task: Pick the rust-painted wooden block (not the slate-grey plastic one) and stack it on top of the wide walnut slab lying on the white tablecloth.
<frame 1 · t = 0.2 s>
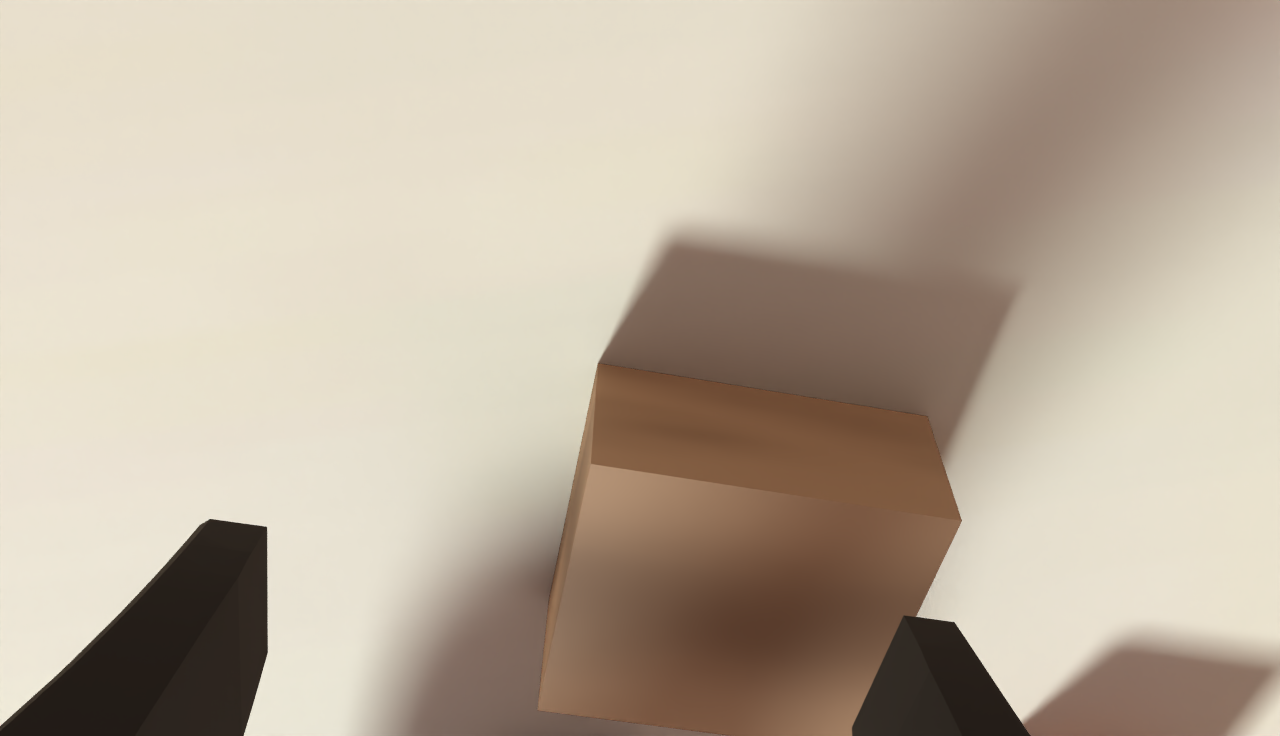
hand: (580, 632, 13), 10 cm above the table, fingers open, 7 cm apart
walnut slab: (725, 505, 25), on the table
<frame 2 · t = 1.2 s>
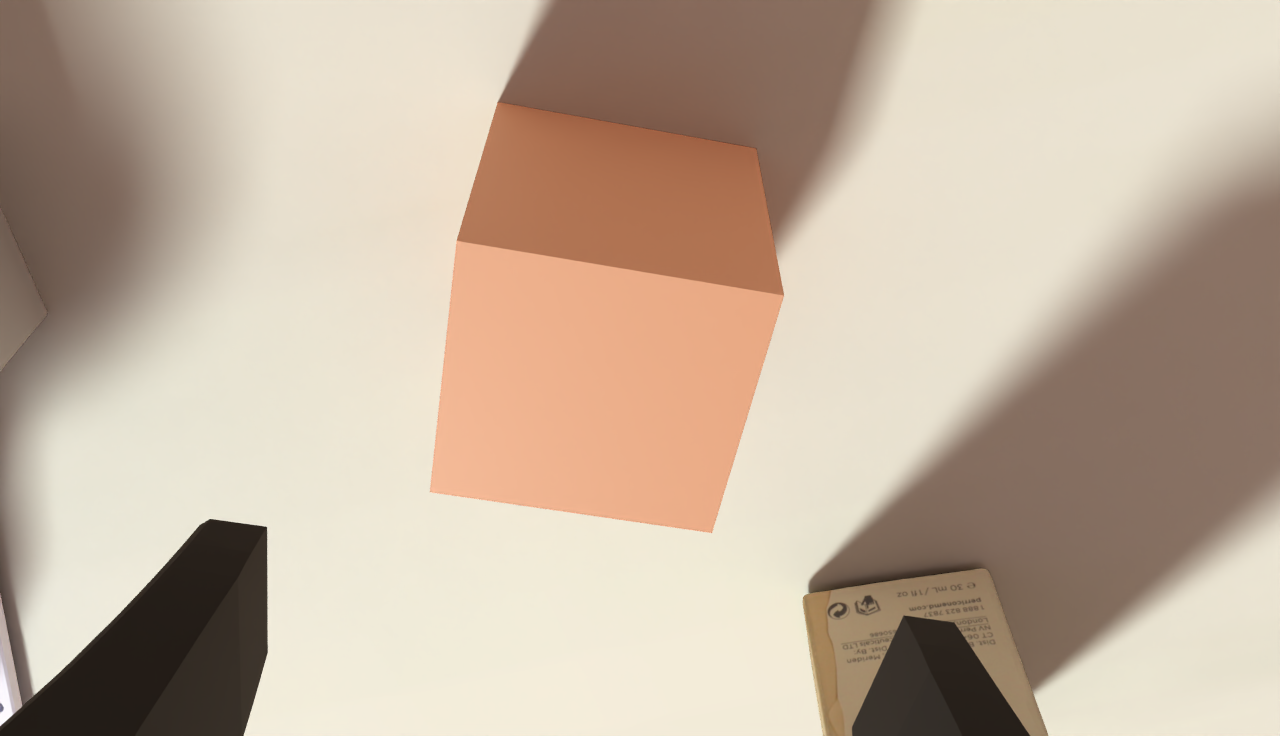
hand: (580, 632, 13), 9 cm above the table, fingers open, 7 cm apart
rust block: (606, 238, 21), on the table
skincare box: (904, 657, 27), on the table
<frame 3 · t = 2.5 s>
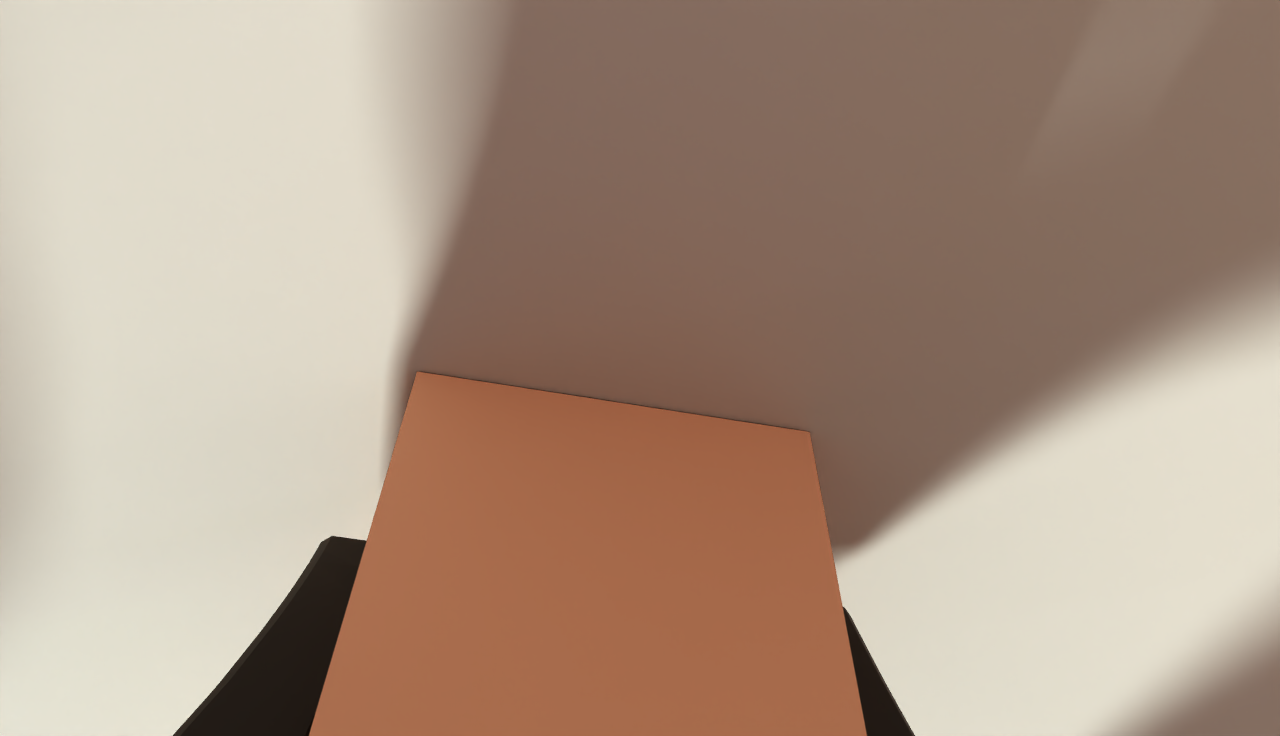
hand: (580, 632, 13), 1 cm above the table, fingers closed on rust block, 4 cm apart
rust block: (585, 545, 14), on the table, touching gripper
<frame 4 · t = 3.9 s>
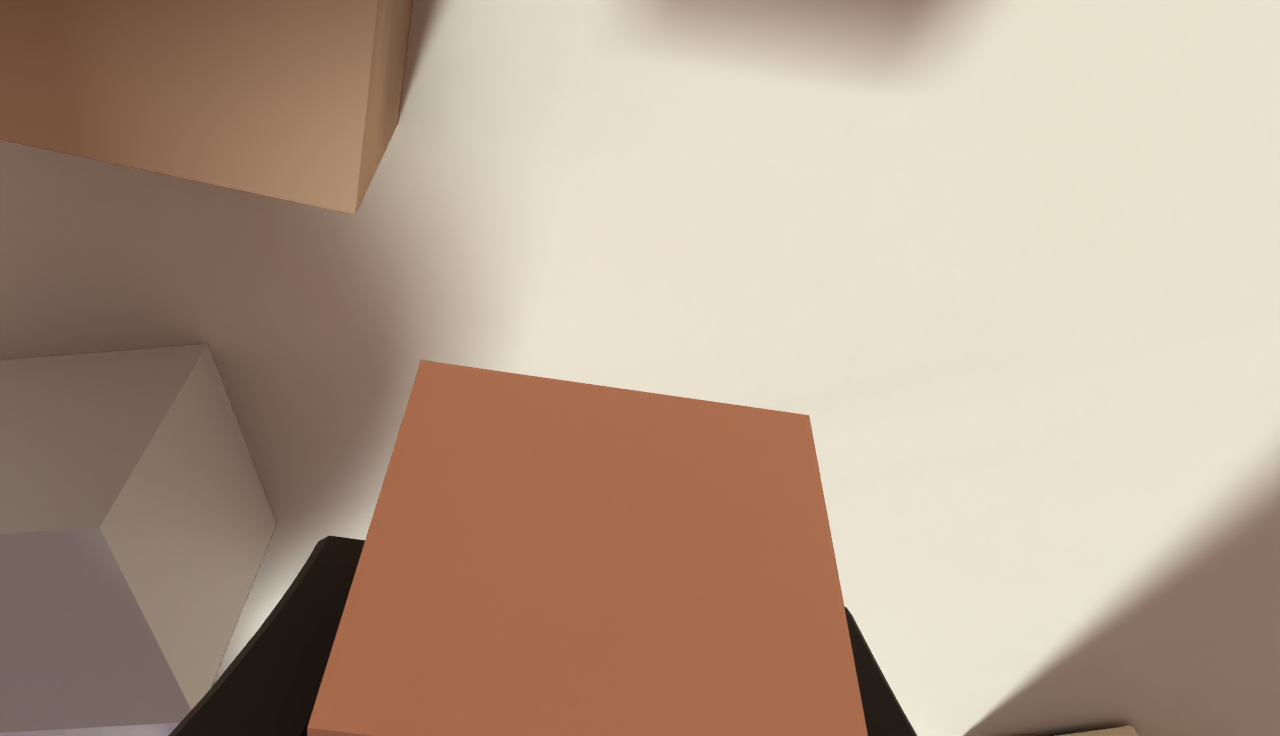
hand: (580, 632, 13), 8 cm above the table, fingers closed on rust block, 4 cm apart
rust block: (590, 531, 14), point 7 cm above the table, touching gripper
grey block: (134, 445, 22), on the table
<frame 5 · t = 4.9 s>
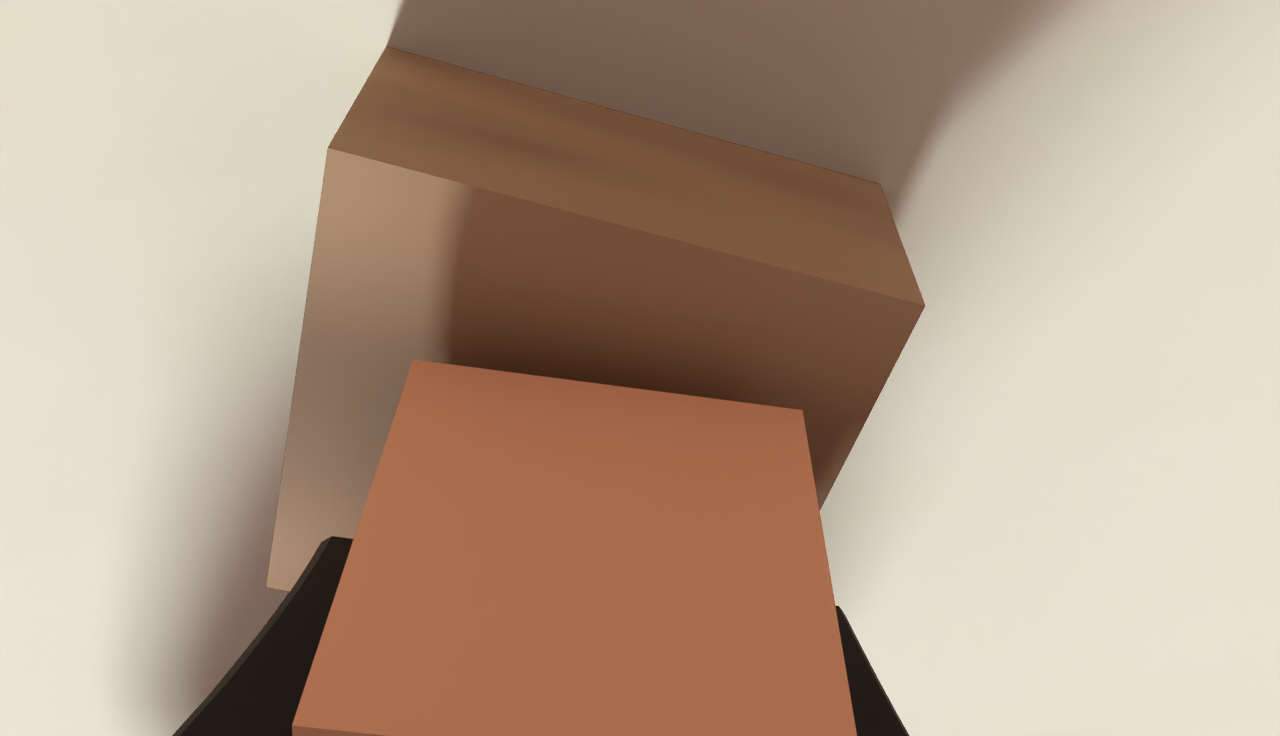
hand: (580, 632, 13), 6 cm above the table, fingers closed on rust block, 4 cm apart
walnut slab: (578, 315, 17), on the table
rust block: (586, 529, 14), point 4 cm above the table, touching gripper
when the fingers open (6 cm above the table, at t = 5.3 s): rust block stays where it is, point 3 cm above the table.
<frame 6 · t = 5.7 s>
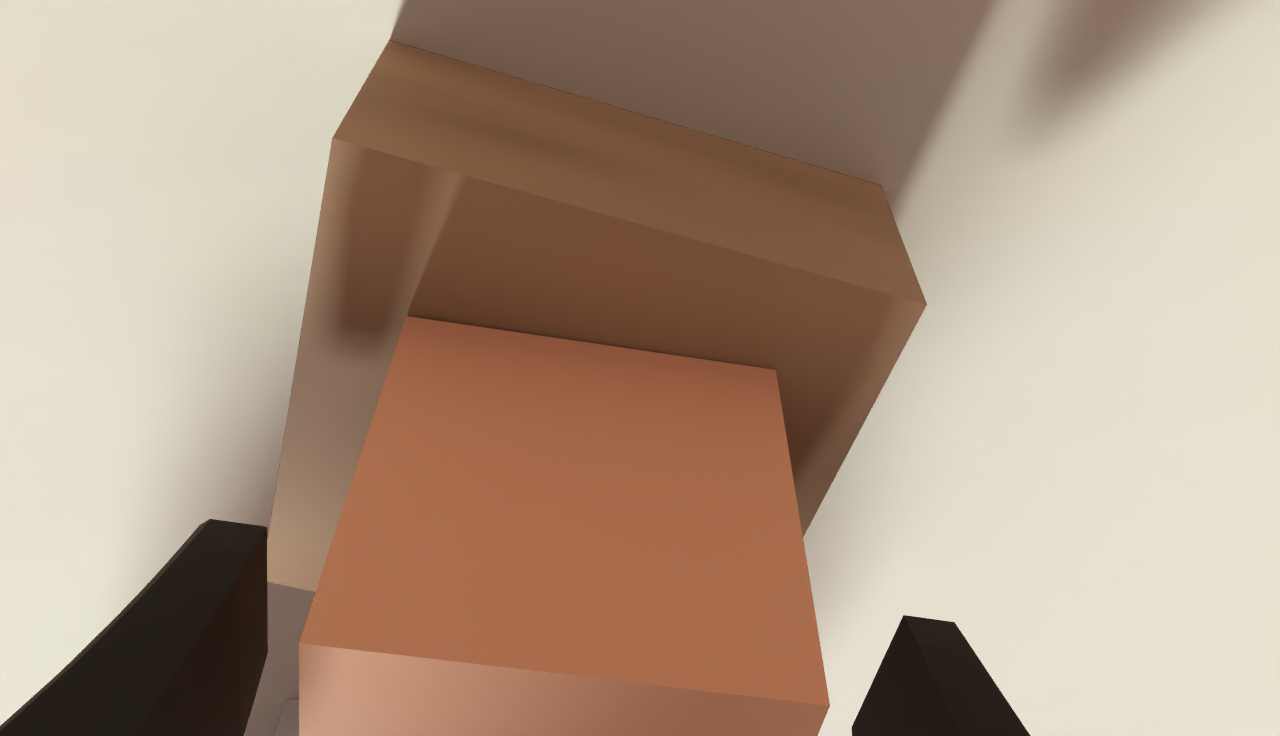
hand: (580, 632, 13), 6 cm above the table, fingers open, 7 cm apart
walnut slab: (577, 312, 17), on the table
rust block: (568, 483, 15), point 3 cm above the table
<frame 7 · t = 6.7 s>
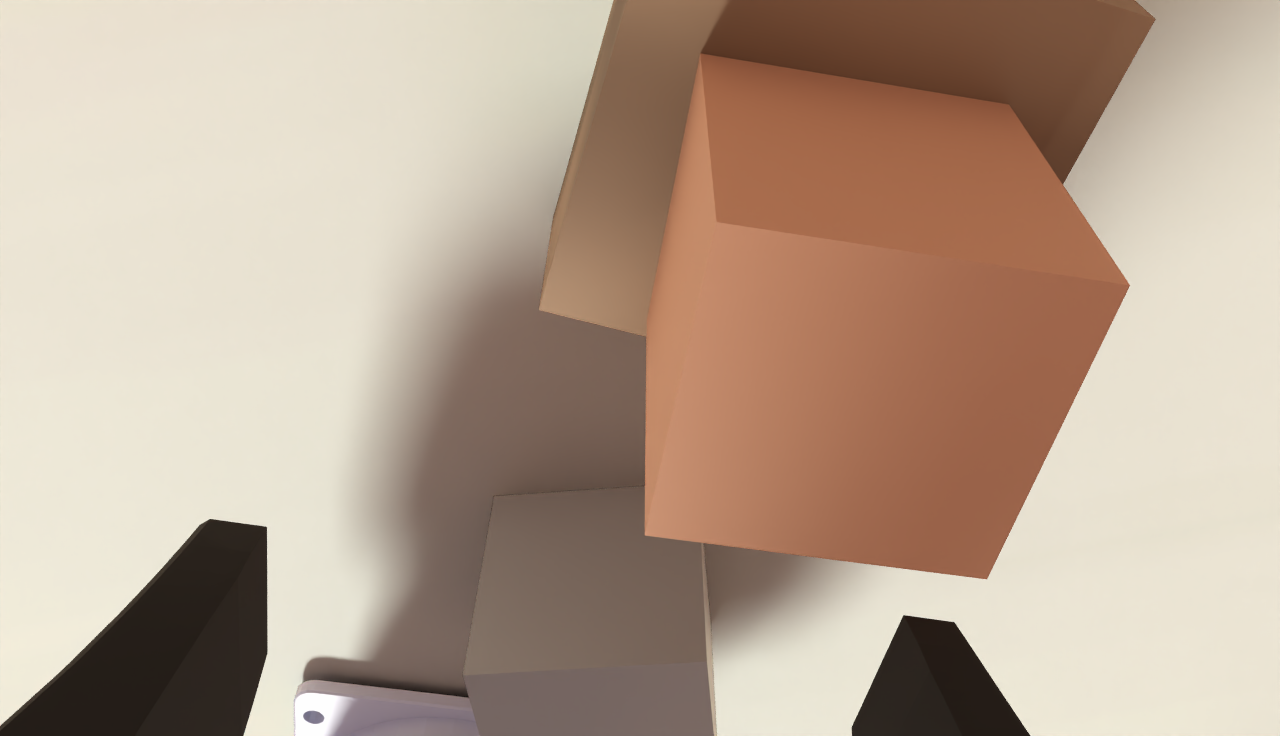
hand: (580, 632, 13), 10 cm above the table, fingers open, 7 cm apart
walnut slab: (796, 89, 20), on the table, touching rust block
rust block: (816, 219, 17), point 3 cm above the table, touching walnut slab
grey block: (607, 560, 26), on the table
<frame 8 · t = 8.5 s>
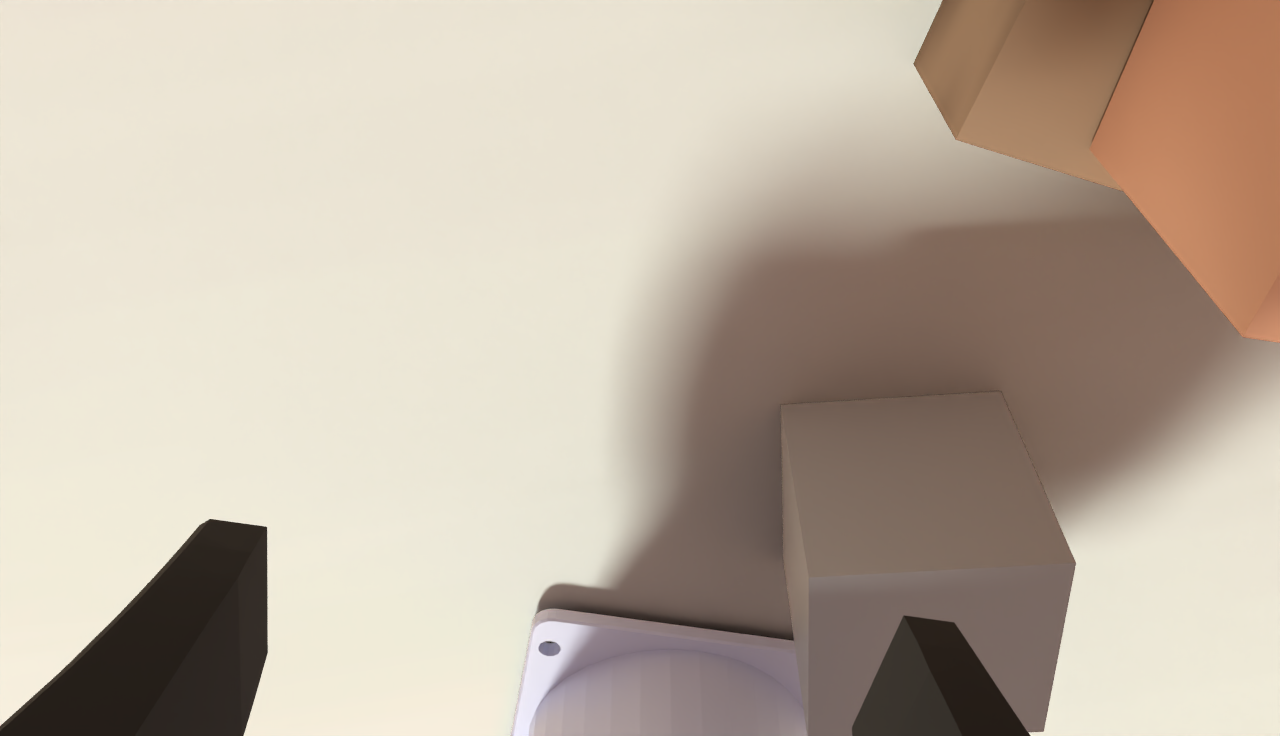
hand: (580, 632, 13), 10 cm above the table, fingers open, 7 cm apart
grey block: (885, 479, 25), on the table
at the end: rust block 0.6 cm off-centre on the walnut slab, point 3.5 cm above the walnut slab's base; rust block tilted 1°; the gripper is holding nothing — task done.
